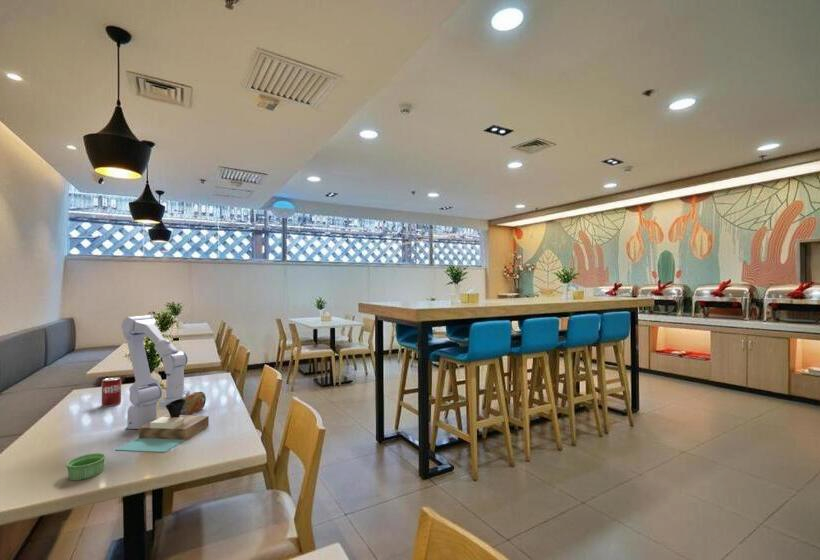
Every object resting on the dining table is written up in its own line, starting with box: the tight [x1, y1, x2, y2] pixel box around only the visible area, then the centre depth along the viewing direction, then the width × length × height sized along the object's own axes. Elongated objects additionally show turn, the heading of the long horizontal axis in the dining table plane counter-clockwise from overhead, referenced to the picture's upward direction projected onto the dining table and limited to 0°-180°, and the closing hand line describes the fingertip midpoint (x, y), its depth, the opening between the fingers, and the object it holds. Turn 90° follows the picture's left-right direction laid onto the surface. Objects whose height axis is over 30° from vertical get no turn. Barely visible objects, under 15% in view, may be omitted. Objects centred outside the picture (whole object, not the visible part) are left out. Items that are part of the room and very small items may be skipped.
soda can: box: [101, 376, 122, 408], centre depth 182 cm, size 7×7×12 cm
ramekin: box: [66, 452, 106, 481], centre depth 116 cm, size 9×9×4 cm
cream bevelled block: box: [150, 416, 184, 429], centre depth 144 cm, size 9×6×2 cm, turn 86°
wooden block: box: [138, 414, 210, 441], centre depth 148 cm, size 18×14×4 cm
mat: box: [115, 437, 186, 453], centre depth 136 cm, size 18×10×1 cm, turn 85°
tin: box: [180, 391, 207, 415], centre depth 170 cm, size 15×3×8 cm, turn 168°
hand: (175, 419), depth 148 cm, fingers closed
